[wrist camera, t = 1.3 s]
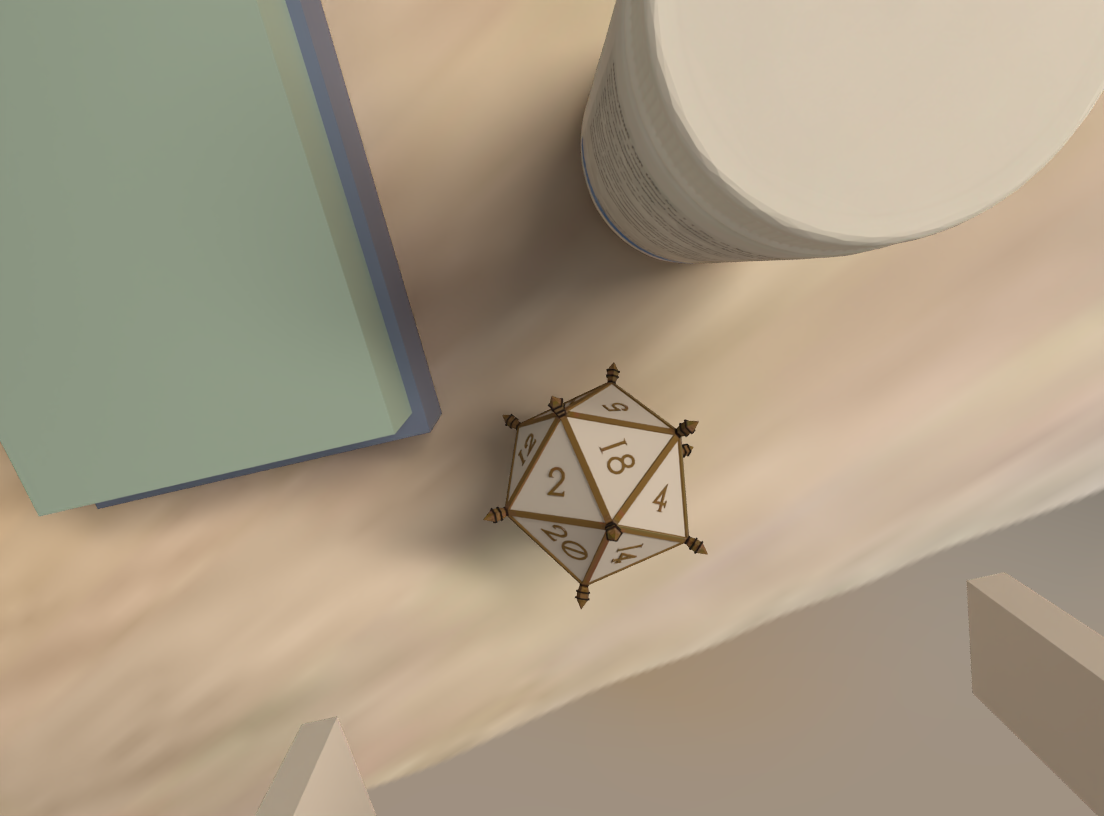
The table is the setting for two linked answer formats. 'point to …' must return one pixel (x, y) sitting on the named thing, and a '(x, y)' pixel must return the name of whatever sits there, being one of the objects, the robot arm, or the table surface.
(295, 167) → the book pile
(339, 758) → the robot arm
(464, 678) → the table surface
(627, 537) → the game die
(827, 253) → the supplement tub
